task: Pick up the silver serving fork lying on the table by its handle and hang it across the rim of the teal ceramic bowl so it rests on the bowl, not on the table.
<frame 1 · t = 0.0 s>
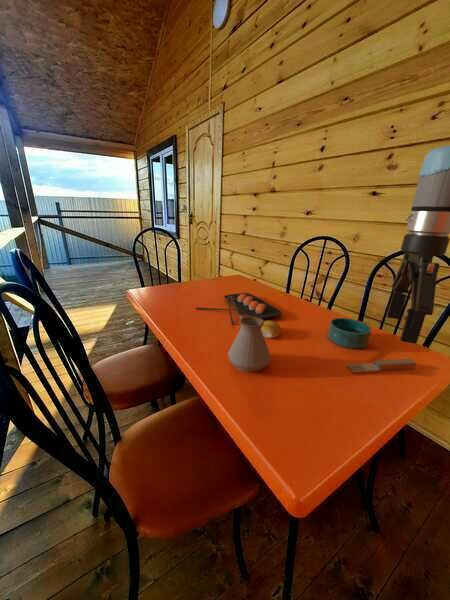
hand: (399, 328, 59), 15 cm above the table, tool pointing down, fingers open, 13 cm apart
coffee pot: (241, 355, 74), on the table
bread roll: (268, 333, 88), on the table
sushi plate: (234, 310, 107), on the table
fork: (380, 368, 70), on the table
bowl: (346, 340, 85), on the table
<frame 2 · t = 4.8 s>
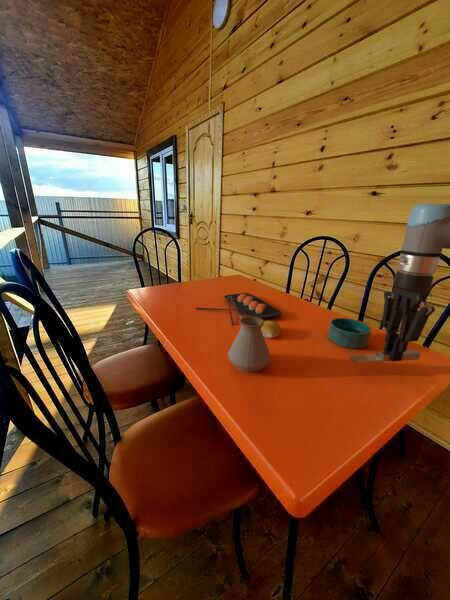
hand: (391, 357, 69), 3 cm above the table, tool pointing down, fingers closed on fork, 2 cm apart
fork: (384, 359, 69), point 3 cm above the table, touching gripper
everything else where it was.
when the fingers open (6 cm above the table, at t = 9.2 s): fork stays where it is, resting on bowl.
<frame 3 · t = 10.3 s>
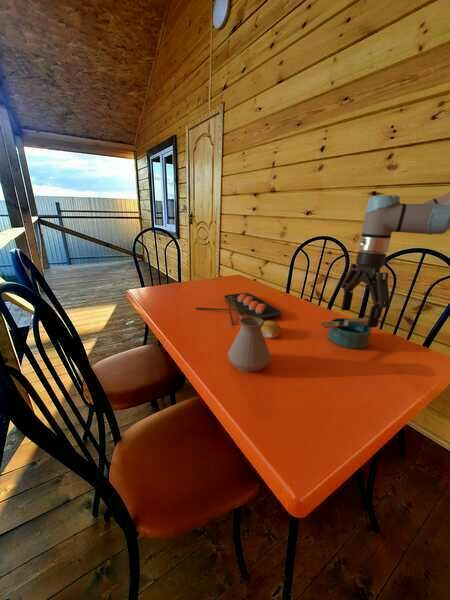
hand: (357, 317, 82), 8 cm above the table, tool pointing down, fingers open, 13 cm apart
fork: (349, 325, 83), point 5 cm above the table, touching bowl
everything else where it was.
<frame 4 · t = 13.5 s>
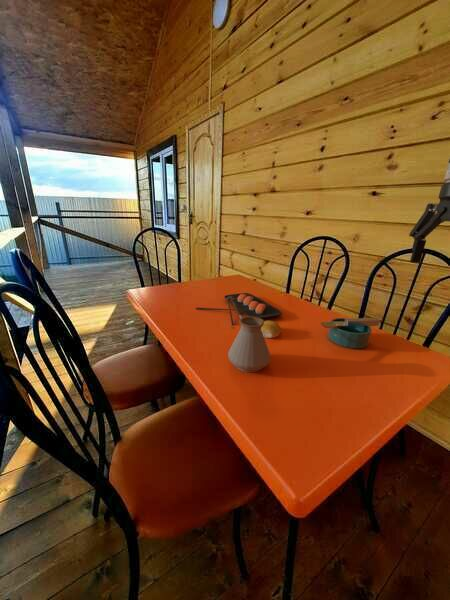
hand: (435, 267, 69), 27 cm above the table, tool pointing down, fingers open, 13 cm apart
nothing on the table moved.
at the end: fork 0.2 cm off-centre on the bowl, point 5.5 cm above the bowl's base; fork touching bowl; the gripper is holding nothing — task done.
